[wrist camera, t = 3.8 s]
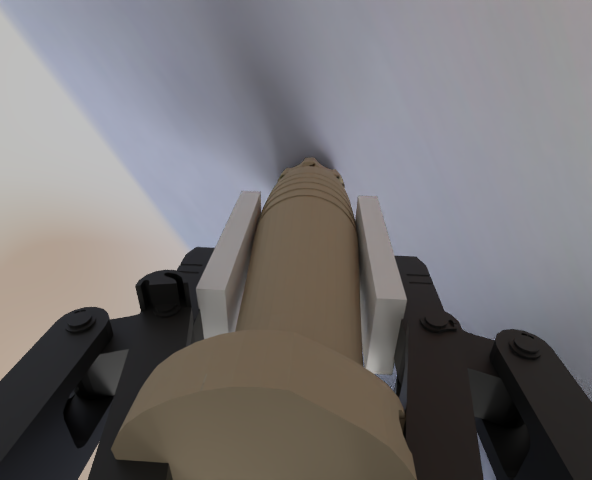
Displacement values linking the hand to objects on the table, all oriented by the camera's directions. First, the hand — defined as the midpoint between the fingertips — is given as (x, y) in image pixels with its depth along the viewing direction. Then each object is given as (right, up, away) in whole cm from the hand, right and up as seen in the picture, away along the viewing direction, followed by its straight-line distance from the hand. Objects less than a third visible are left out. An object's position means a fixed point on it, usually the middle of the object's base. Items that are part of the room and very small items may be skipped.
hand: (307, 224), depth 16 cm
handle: (0, +2, +4) cm, 4 cm away
